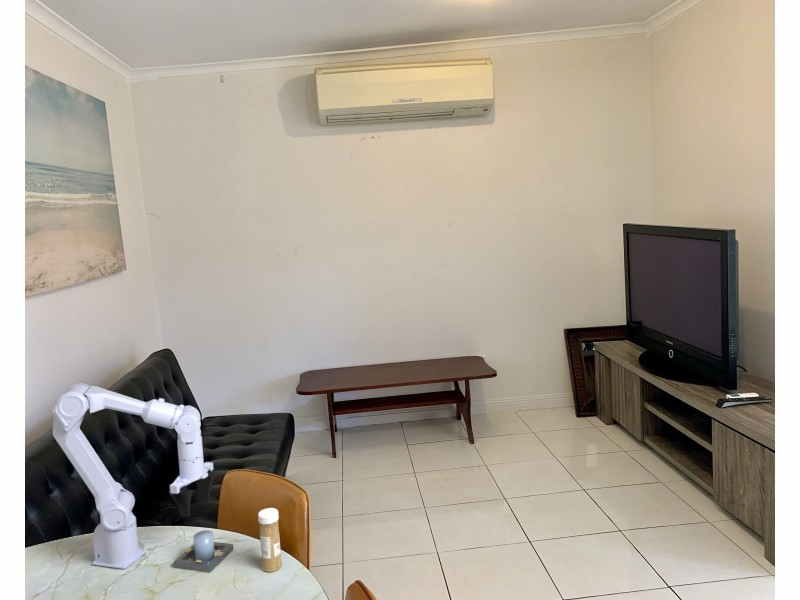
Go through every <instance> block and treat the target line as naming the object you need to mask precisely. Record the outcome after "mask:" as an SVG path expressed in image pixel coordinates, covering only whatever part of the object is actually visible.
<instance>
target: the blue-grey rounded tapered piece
mask: <svg viewBox="0 0 800 600" xmlns="http://www.w3.org/2000/svg"><path fill="white" fill-rule="evenodd" d="M214 542H215V540H214V531H212V530H207V529H206V530H201V531H198V532H197V533H195V534H194V535H193V545H194V547H195V554H194V556H195V557H194V558H195V561H196V562H204V563H208V562H210V561H211V560H212V559H213V558H214V557H215V555H216V554H215V553H216V551H215V550H214Z"/></svg>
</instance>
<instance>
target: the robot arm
mask: <svg viewBox="0 0 800 600" xmlns="http://www.w3.org/2000/svg"><path fill="white" fill-rule="evenodd" d="M104 409H109V410H113V411H119V412H121V413H127V414H131V415H136V416H140V417H141V418H142V419H143V421H144V422H145V424H150V425H154V426H158V427H162V428H166V429H170V430H175V431H176V433H177V440H176V441H177V452H178V453H177V456H178V466H179V475H178V476H177V477H176V478H175V480H174V481H173V482H172V483H171V484H169V489H168V494H169V496H170V497H171V498H172V499H173V501H174V502H175V504H176V506H177V509H178V512H179V513H180V516H181V517H185V518H186V517H187V518H189V517H190V516H191V501H192V495H193V493H194V490H193V489H188V488H187V486H188V485H190V484H191V483H193V482H195V485H196V487H197V492H198V493H197V495H198V498H199V502H200V503H209V501H210V495H211V491H212V486H213V483H214V481H215V479H216V477H217V476H216V475H217V473H216V472H214V471H213V470H214V462H211V461H206V462H204V450H203V437H202V431H201V425H202V424H201V414H200V413H201V412H199V410H198V409H197V408H195V407H194V406H192V405H184V404H179V405H177V404H173V403H170V402H166V401H165V398H161V397H159V398H158V399H154V398H153V399H151V400H149V401H143V400H139V399H137V398H133V397H130V396H127V395H124V394H121V393H118V392H115V391H111V390H108V389H106V388H103V387H99V386H97V385H89V384H86V383H82V382H80V383H75V384H73V385H71V386H70V387H68V389H67V390H66V391H65V392H63V394H62V395H60V396H59V398H58V399H57V401H56V403H55V405H54V407H53V409H52V411H51V412H52V414H53V416H52V417H53V419H52V436H53V438H54V439H55V440H56V443H57V444H58V445H59V446H60V448H61V450H62V451H63V453H64V454H65V455H66V457H67V459H68V461H70V463H71V464H72V466H73V467H74V469H75V471H76V472H77V473H78V475H79V477H80V478H81V479H82V480H83V482H84V483H85V485H86V486H87V488H88V490H89V491H90V492H91V494H92V496H93V497H94V502H95V507H96V510H97V512H98V513H99V515H100V516H99V518H100V521H99V522H100V523H99V524H97V526H96V527H95V528H94V531H93V534H92V544H93V555H94V560H93V562H92V563H91V564H92V565H93V566H99V567H105V568H114V569H119V570H120V569H121V570H125V569H127V568H128V567H129V566H130V565H132V564H133V563H134V562H135V561H137V560H138V559H139V558H141V557H142V556H143V555H145V554H146V553H147V552H148V549H146V548H139V540H138V539H139V538H138V529H137V517H136V516H135V515H134V513H133V512H132V511H133V508H134V506H135V502H136V498H135V496H134V494H133V493H132V492H130V491H129V490H127V489H125V488H124V487H123V485H122V484H121V483H119V482H117V481H116V480H115V479H114V478H113V476H112V475H111V474H110V472H109V471H108V469H107V468H106V466H105V464H104V463H103V461H102V460H101V458H100V457H99V455H98V454H97V453H96V451H95V449H94V448H93V446H92V445H91V443H90V442H89V440H88V439H87V437H86V435H85V434H84V433H83V431H82V430H81V428H80V427H81V425H82V422H83V420H84V417H85V414H86V413H87V411H88V410H89V413H90V414H93V413H96V412H99V411H101V410H104Z"/></svg>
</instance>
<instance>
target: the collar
mask: <svg viewBox="0 0 800 600" xmlns="http://www.w3.org/2000/svg"><path fill="white" fill-rule="evenodd" d="M234 549H235V548H234V544H233V543H226V542H219V541H214V550H220V551H218V552H217V553H216V554H215V557H214V558H213V559H212V560H211V561H210V562H209V563H204V562H196V560H195V561H193V560H190V559H191V558H192V557H193V556H195V547H194V544H192V545H191V546H190V547H187V549H185V550H184V552H183V553H182V554H180V555H179V556H178V557H177V558H176V559H174V561H173V565H172V566H173V569H178V570H179V569H180V570H186V569H187V570H186V571H193V570H195V572H203V573H210V572H211V573H212V572H213V571H214V570H215V569H216V568H217V567H218V566H219V565H220V564H221V563H223V561H224V560H225V559H226V558H227V557H228V556H229V555H230V554H232V552H233V551H235V550H234ZM216 566H217V567H216ZM215 567H216V568H215Z"/></svg>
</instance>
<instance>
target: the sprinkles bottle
mask: <svg viewBox="0 0 800 600" xmlns="http://www.w3.org/2000/svg"><path fill="white" fill-rule="evenodd" d="M279 518H280V516H279V510H278V509H276V508H274V507H268V508H264V509H262V510H260V511H259V512H258V515H257V519H258V524H259V537H260V538H259V539H260V541H259V542H260V551H261V552H260V553H261V559H262V560H261V561H262V566H261V568H262V570H263V571H265V572H267V573H271V572H272V573H273V572H276V571H278V570H279V569H281V567H282V566H283V562H282V555H281V551H282V550H281V541H280V540H281V539H280V532H279V531H280V528H279Z"/></svg>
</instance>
